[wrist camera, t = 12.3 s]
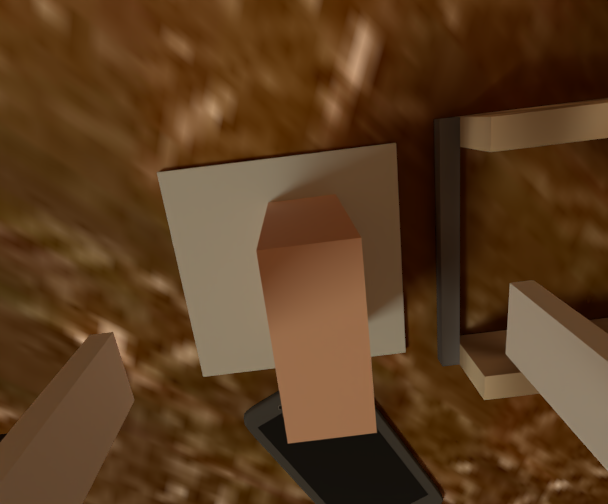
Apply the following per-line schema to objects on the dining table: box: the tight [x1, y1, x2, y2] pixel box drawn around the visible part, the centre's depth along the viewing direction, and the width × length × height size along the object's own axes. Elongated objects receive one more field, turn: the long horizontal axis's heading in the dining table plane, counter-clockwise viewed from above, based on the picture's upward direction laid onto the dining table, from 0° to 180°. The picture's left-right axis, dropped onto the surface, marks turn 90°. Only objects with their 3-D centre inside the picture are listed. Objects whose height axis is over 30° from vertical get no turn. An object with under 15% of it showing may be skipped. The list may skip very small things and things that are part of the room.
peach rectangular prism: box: [256, 194, 377, 444], centre depth 19 cm, size 4×8×8 cm, turn 7°
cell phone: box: [244, 391, 443, 504], centre depth 27 cm, size 7×14×1 cm, turn 34°
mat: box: [157, 143, 406, 377], centre depth 23 cm, size 12×12×1 cm
